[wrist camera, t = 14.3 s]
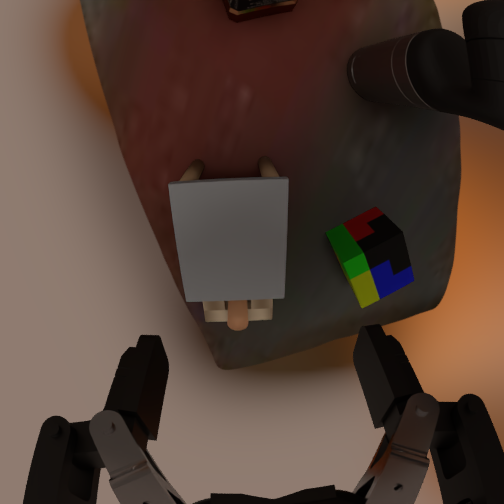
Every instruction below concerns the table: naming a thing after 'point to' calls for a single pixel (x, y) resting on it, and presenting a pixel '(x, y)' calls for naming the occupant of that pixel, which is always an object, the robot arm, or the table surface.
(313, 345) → the table surface
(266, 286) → the grey small table
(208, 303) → the socket block
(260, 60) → the table surface
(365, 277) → the puzzle toy
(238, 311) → the peg
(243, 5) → the whiskey bottle
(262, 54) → the table surface
